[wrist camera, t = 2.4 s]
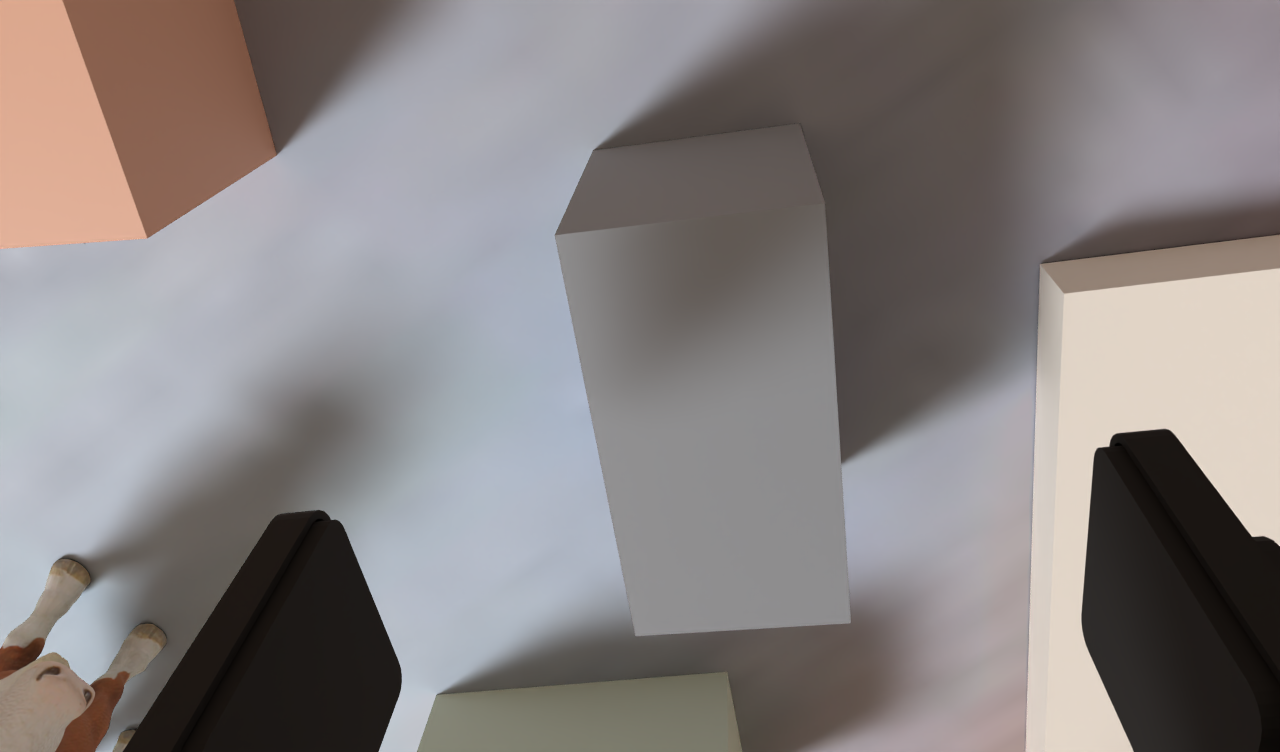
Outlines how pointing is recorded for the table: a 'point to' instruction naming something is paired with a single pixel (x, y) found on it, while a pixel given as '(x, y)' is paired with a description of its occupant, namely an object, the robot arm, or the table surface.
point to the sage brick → (589, 717)
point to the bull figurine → (63, 677)
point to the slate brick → (712, 378)
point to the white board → (1138, 401)
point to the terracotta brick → (121, 116)
